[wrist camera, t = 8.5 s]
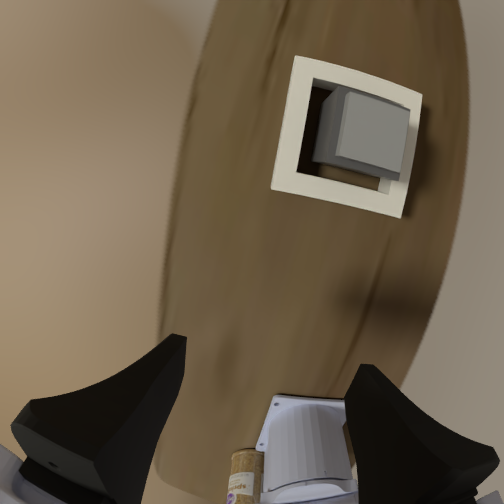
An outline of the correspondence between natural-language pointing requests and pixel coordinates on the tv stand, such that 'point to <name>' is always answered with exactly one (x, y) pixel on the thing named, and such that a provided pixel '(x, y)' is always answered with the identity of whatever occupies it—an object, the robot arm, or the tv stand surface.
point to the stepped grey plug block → (361, 134)
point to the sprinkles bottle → (246, 477)
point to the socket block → (292, 130)
